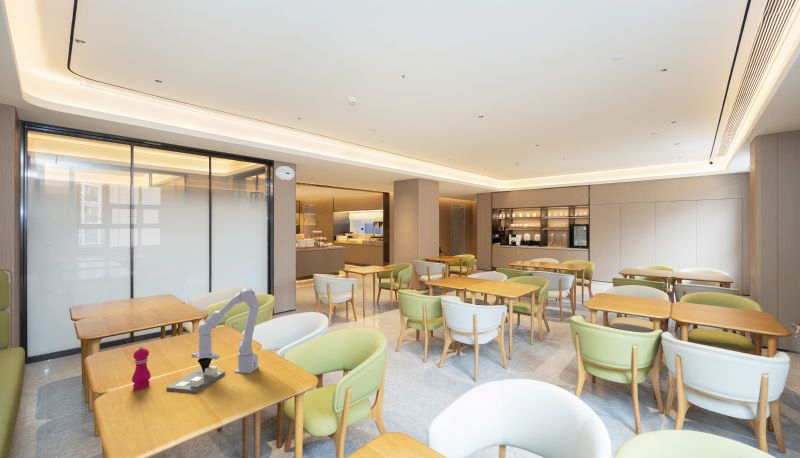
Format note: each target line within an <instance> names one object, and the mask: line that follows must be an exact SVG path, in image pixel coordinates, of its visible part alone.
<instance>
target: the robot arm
mask: <svg viewBox="0 0 800 458" xmlns="http://www.w3.org/2000/svg"><path fill="white" fill-rule="evenodd" d="M243 302H244V303H245V304H246V305H248V307H249V310H248V313H247V319H246V323H245V326H244V330H243V335H242V338H241V340H240V341H239V344H238V347H239V349H238V354H237V369H235V370H234V373H239V374H241V373H242V374H251V373H253V372H255V371H256V370H257V369H258V368H259V356H258V354H256V353H254V352H253V347H252V343H253V335H254V331H255V327H256V322H257V318H258V313H259V308H260V302H259V300H258V298H257V295H256V293H255V292H254V290H253V289H252V288H251V287H244V288H242V289H241V290H240V291H238V292H237V293H236V294H235V295H233V297H231V299H230V300H228V302H226V304H224V306H222V307H221V308H220V310H215V311H214V312H213V311H212V312H210V313H211V314H210V316H208V317H207V318H206V319H204V320H203V322H201V323H200V324H199V327H198V337H199V338H198V352H193V353H191V359H194V358H198V360H197V362H198V363H199V366H200V367H201V369H202V371H203V373H205V369H206V368H208V367H209V366H211V362H212V361H213V360H218V359H220V354H219V353H215V352H212V351H213V350H212V348H213V347H212V341H213V340H212V329H214V328H215V327H216V326H217V325H219V324H220V323H221V321H223V320H224V318H225V315H226V314H227V313H228V312H229V311H231V309H232V308H234V307H235V306H236V305H238V304H242V303H243Z"/></svg>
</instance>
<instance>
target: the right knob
mask: <svg viewBox="0 0 800 458" xmlns="http://www.w3.org/2000/svg"><path fill="white" fill-rule="evenodd" d="M217 371H218V366H215V365H209V367H208V368H206V369H205V375H213V374H215V373H217Z"/></svg>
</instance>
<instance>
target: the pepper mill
mask: <svg viewBox="0 0 800 458" xmlns="http://www.w3.org/2000/svg"><path fill="white" fill-rule="evenodd" d="M149 355H150V351H149V350H148V349H147V348H145V347H144V346H143V345H140V346H139V347H138V349H137V350H135V351H134V353H133V355H132V357H133V359H134V364H135V370H134V371H133V372H134V373H133V374H132V377H131V382H132V383H133V384H132V385H133V386H132V389H133V390H136V391H137V390H143V389H146V388H147V387H149V386H150V379H151V372H150V370H149V368H148V365H147V362H148V357H149Z"/></svg>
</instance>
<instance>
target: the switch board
mask: <svg viewBox="0 0 800 458" xmlns="http://www.w3.org/2000/svg"><path fill="white" fill-rule="evenodd" d="M225 375H226V371H223V370H217V373H215V374H213V375H205V373H203V371H202V368H201V369H199V368H198V369H196V370H194V371H193V372H190V373H189V374H187V375H186V376H184V377H182V378H180V379H178V380H177V381H175V382H173V383H171V384H170V385H168V386H166V391H168V392H169V391H170V392H178V393H179V392H181V393H187V394H188V393H190V394H197V393H199V392H200V391H202V390H204V389H206V387H208V386H210V385H211V384H213V383H214V382H216V381H218V380H219V379H220V378H222V377H224V376H225ZM196 376H197V377H204V383H203V384H202V385H200V386H199V387H191V386H190V380H191V379H193V378H195V377H196Z"/></svg>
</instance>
